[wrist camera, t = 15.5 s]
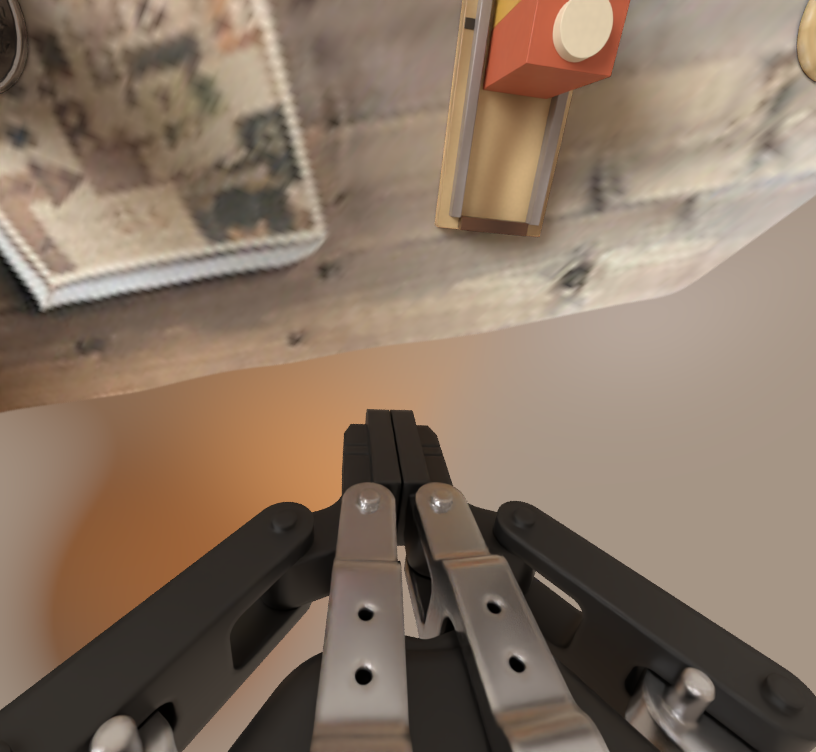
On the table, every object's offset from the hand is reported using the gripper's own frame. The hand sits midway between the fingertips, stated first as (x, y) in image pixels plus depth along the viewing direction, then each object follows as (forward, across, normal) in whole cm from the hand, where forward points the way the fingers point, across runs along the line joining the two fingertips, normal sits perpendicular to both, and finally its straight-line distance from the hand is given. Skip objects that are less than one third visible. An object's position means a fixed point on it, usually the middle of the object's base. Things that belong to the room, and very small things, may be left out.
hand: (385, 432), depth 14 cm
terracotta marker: (+25, -10, -15) cm, 31 cm away
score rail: (+26, -10, -13) cm, 31 cm away
